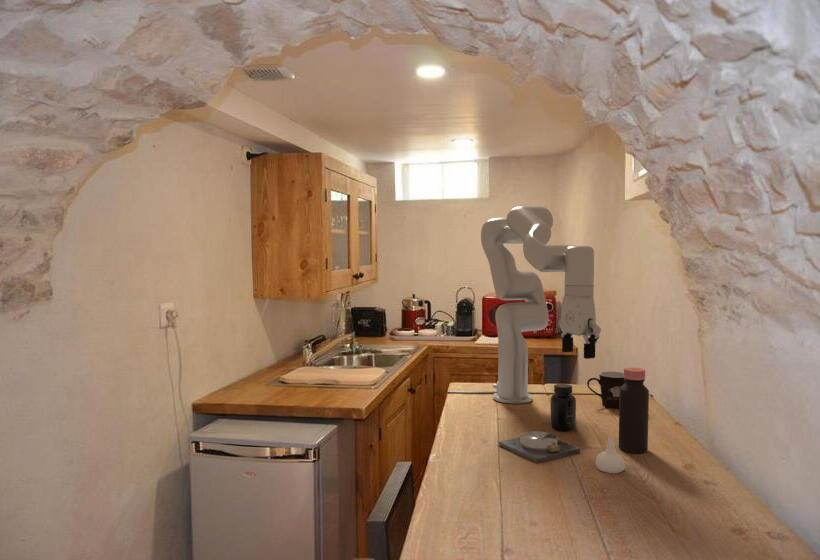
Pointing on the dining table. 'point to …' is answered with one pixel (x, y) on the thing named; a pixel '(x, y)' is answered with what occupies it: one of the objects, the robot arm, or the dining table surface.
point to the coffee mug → (609, 388)
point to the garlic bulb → (610, 459)
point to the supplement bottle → (563, 408)
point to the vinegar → (633, 412)
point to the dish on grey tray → (539, 446)
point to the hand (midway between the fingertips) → (578, 355)
